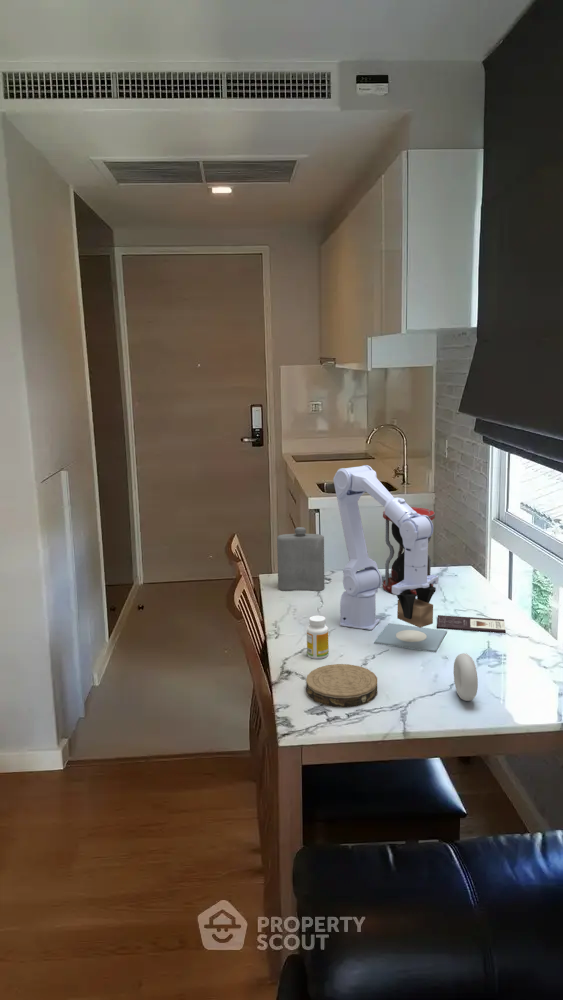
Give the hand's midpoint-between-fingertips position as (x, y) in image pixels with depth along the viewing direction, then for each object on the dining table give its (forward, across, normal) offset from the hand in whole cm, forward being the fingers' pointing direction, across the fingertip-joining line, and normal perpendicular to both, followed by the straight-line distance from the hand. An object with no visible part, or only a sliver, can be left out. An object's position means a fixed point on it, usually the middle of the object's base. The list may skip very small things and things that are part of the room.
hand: (414, 615), depth 180 cm
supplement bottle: (+9, -23, +11) cm, 27 cm away
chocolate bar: (+9, +23, +1) cm, 25 cm away
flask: (+9, +5, +56) cm, 57 cm away
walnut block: (+1, 0, 0) cm, 1 cm away
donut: (+8, -12, -27) cm, 30 cm away
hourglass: (+9, +32, +35) cm, 48 cm away
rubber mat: (+8, +3, +5) cm, 10 cm away
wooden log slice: (+9, -30, -7) cm, 32 cm away
